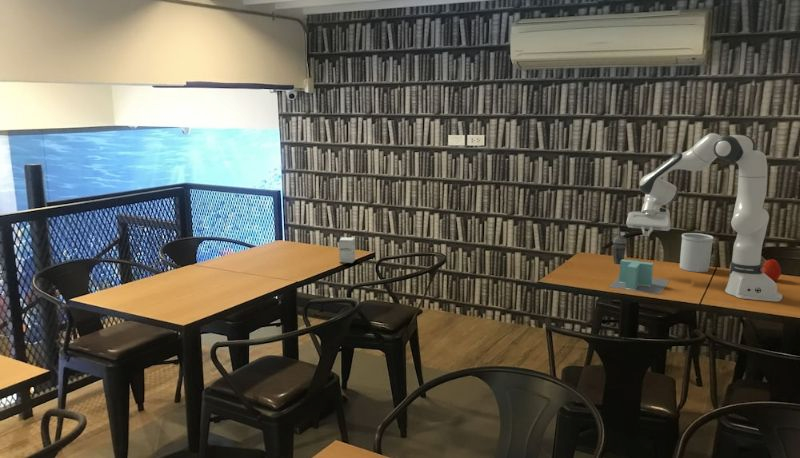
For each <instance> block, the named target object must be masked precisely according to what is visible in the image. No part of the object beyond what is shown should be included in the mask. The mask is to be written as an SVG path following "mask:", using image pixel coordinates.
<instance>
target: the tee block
mask: <svg viewBox="0 0 800 458" xmlns="http://www.w3.org/2000/svg"><path fill="white" fill-rule="evenodd" d="M653 272H654V262H648V261H641V260H631V259H630V260H629V259H625V258H624V259H622V260H621V261H620V264H619V273H618V274H619V275H618V277H619V282H626V288H631V289H635V288H636V287H637V286H638V285H639V284H640V285H648V286H650V285H651V284H652V278H653Z"/></svg>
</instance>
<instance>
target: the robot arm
mask: <svg viewBox="0 0 800 458" xmlns="http://www.w3.org/2000/svg"><path fill="white" fill-rule="evenodd" d="M756 148H757V145H756V141H755V140H754V138H752V137H751V136H749V135H746V134H731V135H730V134H729V135H724V136H722V135H720V134H718V133H715V132H711V133H707V134H706V135H705V136H704V137H702V138H701V139H700V140H699V141H697V142H696V143H695V144H694V145H693V146H692V147H691V148H690V149H687V150H686V151H684V152H677V153H675V154H674V155H672V156H670V157H669V158H668V159H666V160H665V161H664V162H663V163H661V164H660V165H659V166H657V167H656V168H655V169H653V170H652V171H650V172H648V173H646V174H645V175H644V176H642V177H641V179H640V180H639V183H638V185H639V190H640V192H641V193H643V194H645V195H644V199H643V201H644V203H642V207H641V210H636V211H635V210H632V211H629V212H628V213H627V219H626V226H627V228H631V229H641V231H642V236H643V237H644V236H645V237H650V234H651V233H652V232H653V231H654V230H655V231H665V232H668V231H670V230H671V214H670V213H671V212H670V209H668V208H665V207H663V206H666V205H670V204H672V203H674V201H676V199H677V197H678V193H679V191H678V187H677V186H676V185H675V184H673V183H671V182H669V181H666V180H664V179H663V177H664V176H666V175H667V174H669V173H670V172H672V171H674V170H684V171H690V172H701V171H703V170H705V169H707V168H708V167H710V165H711V164H712V163H713V162H714V161H715V160H716V159H717V158H718V159H720V160H723V161H726V162H729V163H732V164H735V163H736V164H737V166H738V178H737V180H738V181H737V191H736V192H737V194H736V200H735V205H734V208H733V213H732V218H731V221H730V222H731V223H730V225H731V228H732V230H734V231H735V232H736V233H737V234H736V238H735V241H734V243H733V248H732V256H731V261H730V264H729V278H728V282H727V285H726V287H725V290H724V292H725V293H727V295H731V296H734V297H736V298H739V299H741V300H742V299H745V300H755V301H764V302H775V303H776V302H777V303H778V302H782V301H783V294H781V293H780V292H779V291H778V285H777V283H776V282H775V281H773V280H772V279H771V278H769V277H768V276H767V275H766V274H765V273H764V272H765V271H766V269H765V267H764V265H763V264H762V263H761V258H762V250H763V244H764V240H765V237H766V233H767V230H768V229H767V227H768V223H769V219H770V215H769V211H767V210H766V209H765V208H763V207H764V203H765V199H766V196H767V189H768V187H767V186H768V160H767V157H766V154H765V153H764V152H763V151H760V150H756Z"/></svg>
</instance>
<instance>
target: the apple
mask: <svg viewBox="0 0 800 458" xmlns="http://www.w3.org/2000/svg"><path fill="white" fill-rule="evenodd" d="M762 265H764V267H765V269H766V271H765V272H764V273H765V274H766V275H767V276H768V277H769V278H771V279H772V280H773V281H774V282H775V281H777V280H778V279H779V278H780V277H781V275H782V270H781V266H780V264H779V262H778V261H777V260H776V259H773V258H771V259H767V260H765V262H764V263H763V264H762Z"/></svg>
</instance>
